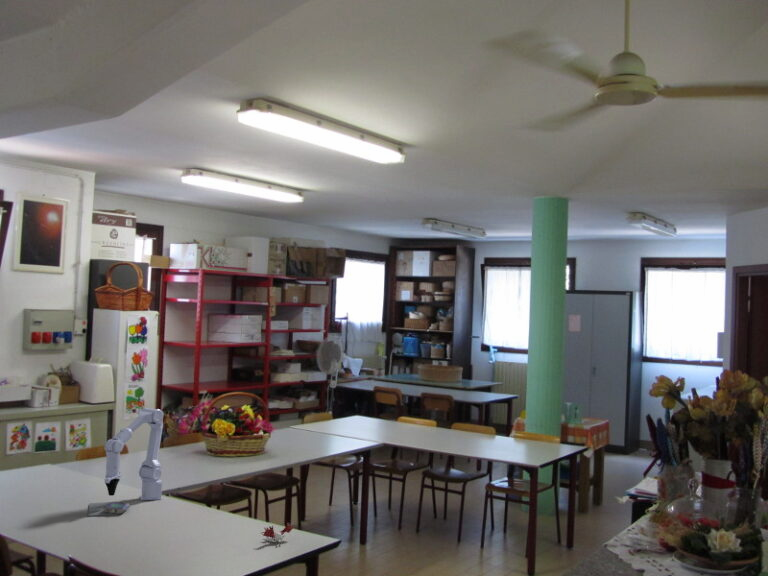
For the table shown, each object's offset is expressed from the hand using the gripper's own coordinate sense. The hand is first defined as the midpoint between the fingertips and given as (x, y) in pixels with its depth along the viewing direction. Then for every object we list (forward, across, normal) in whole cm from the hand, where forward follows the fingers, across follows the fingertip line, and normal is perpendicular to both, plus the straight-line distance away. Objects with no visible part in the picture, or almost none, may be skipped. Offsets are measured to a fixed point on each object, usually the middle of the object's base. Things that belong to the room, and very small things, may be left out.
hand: (111, 495), depth 334 cm
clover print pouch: (+4, 0, -4) cm, 6 cm away
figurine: (+7, -38, -81) cm, 90 cm away
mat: (+6, -1, +3) cm, 7 cm away
